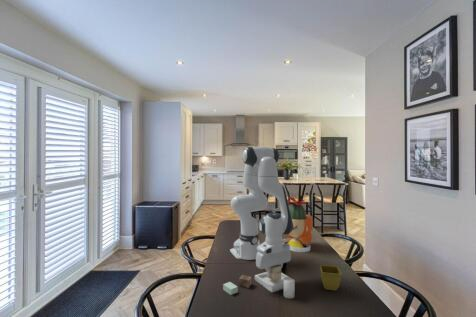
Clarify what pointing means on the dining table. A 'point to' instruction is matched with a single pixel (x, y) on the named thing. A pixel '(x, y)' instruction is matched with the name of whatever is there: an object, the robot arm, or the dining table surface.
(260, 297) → the dining table surface
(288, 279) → the white capsule shape
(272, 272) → the oak block
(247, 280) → the walnut block
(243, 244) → the robot arm
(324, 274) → the flower pot
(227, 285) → the green box
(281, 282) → the tray
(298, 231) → the potted cactus
